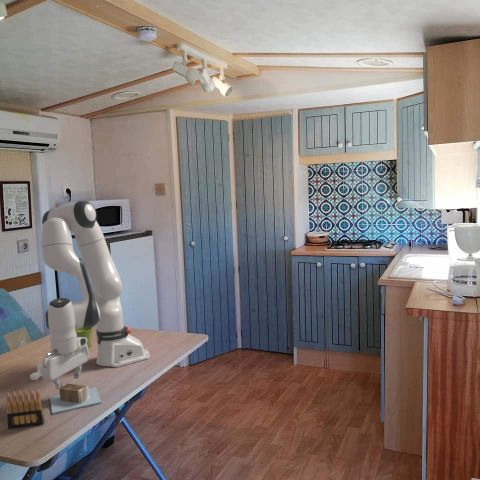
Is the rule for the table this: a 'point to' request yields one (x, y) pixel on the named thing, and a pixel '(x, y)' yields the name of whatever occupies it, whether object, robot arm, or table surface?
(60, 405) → the blue-grey mat
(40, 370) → the game pieces
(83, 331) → the plant pot
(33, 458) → the table surface
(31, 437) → the table surface
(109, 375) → the table surface
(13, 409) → the ammunition clip
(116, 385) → the table surface
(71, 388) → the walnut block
